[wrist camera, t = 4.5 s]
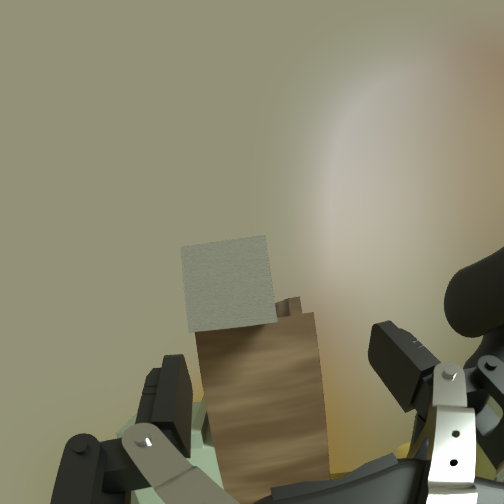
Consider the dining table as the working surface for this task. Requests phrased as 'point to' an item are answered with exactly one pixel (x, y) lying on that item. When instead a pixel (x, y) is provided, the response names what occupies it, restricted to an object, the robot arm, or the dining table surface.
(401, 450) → the dining table surface
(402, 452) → the dining table surface
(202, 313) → the bar
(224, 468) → the tall wooden box
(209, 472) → the light grey box
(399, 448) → the dining table surface
